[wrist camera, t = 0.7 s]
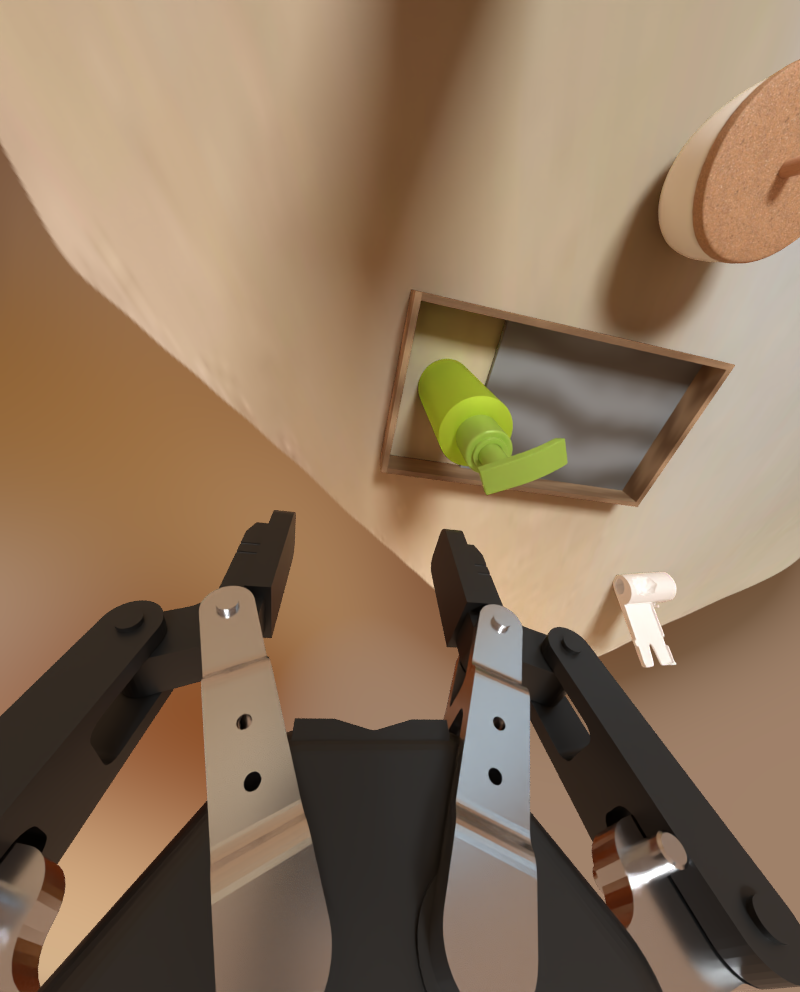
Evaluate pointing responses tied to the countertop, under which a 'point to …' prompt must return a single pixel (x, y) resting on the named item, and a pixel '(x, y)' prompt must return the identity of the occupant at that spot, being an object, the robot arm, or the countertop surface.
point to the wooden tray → (577, 404)
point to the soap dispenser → (481, 429)
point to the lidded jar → (739, 177)
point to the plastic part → (645, 612)
